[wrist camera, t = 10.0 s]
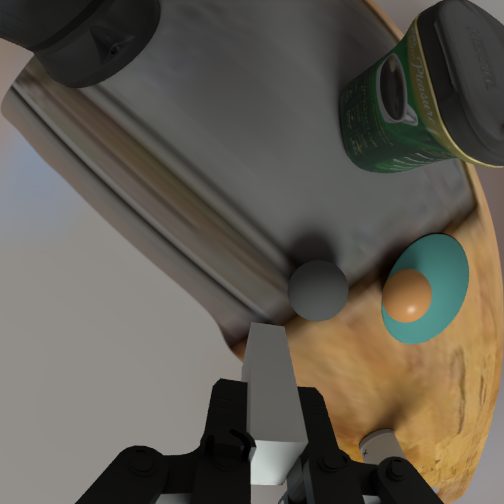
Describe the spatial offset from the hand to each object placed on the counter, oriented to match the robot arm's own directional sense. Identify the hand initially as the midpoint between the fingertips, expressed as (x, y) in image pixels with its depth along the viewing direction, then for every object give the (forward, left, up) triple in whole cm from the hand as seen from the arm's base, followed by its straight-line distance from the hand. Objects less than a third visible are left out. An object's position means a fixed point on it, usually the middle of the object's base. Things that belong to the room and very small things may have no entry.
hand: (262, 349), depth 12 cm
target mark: (+2, +21, -14) cm, 25 cm away
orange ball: (+1, +15, -12) cm, 19 cm away
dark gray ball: (+1, +6, -12) cm, 13 cm away
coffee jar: (-15, +10, -15) cm, 23 cm away
